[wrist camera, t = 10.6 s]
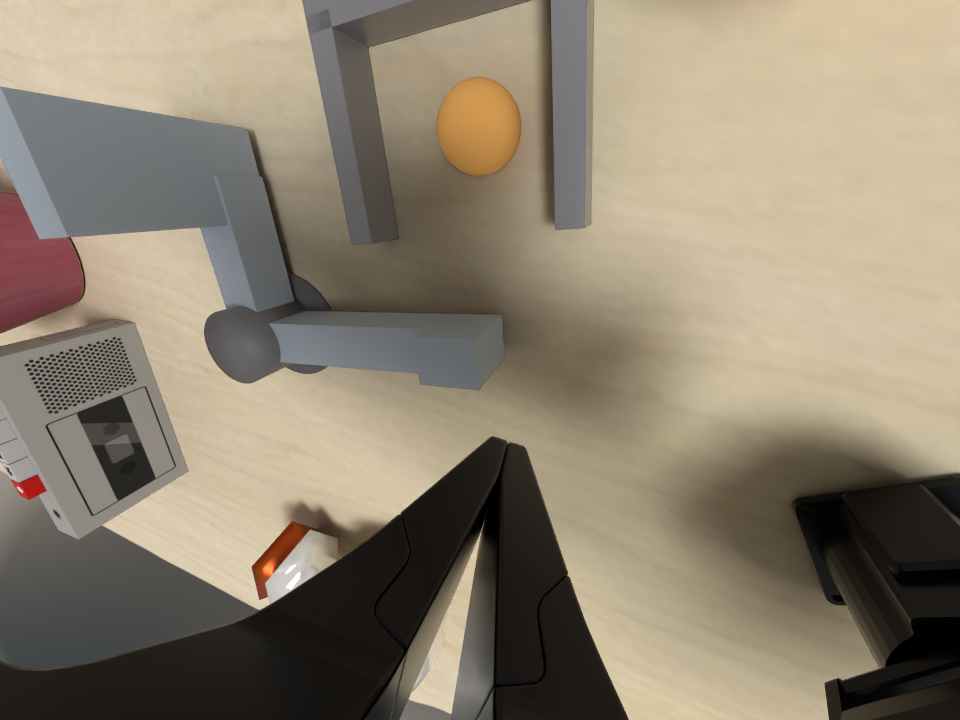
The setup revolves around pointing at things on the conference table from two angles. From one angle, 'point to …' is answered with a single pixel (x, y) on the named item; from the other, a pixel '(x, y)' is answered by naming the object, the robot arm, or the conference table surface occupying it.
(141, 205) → the lever
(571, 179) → the pocket
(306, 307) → the pivot plate
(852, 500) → the robot arm
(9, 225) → the plant pot
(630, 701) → the conference table surface
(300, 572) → the potion bottle
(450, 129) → the ball
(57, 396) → the cassette player
